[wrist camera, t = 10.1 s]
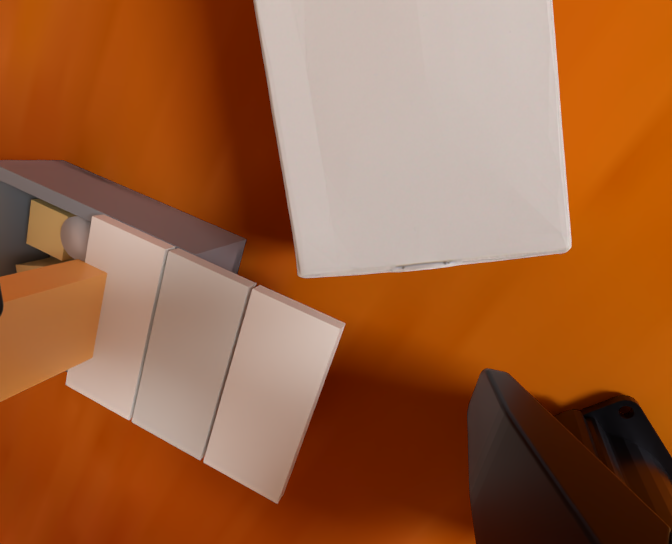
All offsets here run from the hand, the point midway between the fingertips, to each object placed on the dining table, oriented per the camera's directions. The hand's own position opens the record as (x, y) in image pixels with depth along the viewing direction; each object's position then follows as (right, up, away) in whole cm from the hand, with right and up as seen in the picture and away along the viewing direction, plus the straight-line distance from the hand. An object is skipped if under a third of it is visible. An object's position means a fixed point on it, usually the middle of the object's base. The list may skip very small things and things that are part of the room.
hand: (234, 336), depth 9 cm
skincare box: (+3, +16, +5) cm, 17 cm away
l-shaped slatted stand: (-4, -2, +11) cm, 12 cm away
